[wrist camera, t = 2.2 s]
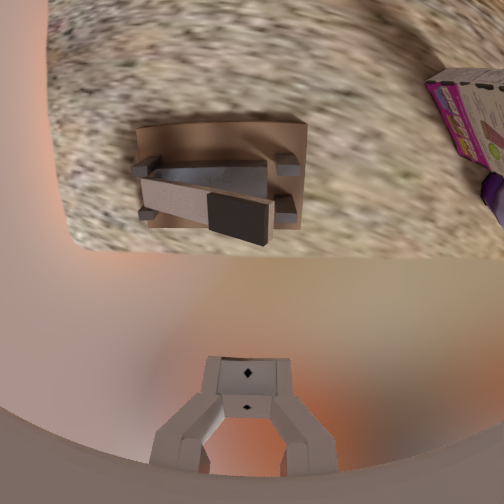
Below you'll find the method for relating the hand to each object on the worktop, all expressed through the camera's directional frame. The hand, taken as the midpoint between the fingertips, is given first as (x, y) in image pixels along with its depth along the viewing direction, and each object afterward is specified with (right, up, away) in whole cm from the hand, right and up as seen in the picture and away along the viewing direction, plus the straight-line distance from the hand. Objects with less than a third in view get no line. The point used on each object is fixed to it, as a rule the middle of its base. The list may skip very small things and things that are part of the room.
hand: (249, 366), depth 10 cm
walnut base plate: (-3, +13, +21) cm, 25 cm away
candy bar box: (+25, +22, +15) cm, 37 cm away
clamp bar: (-4, +8, +14) cm, 17 cm away
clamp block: (-3, +12, +20) cm, 23 cm away
